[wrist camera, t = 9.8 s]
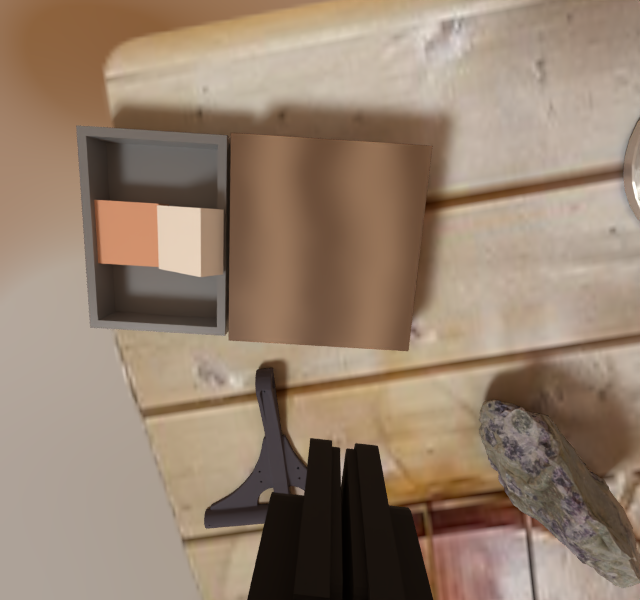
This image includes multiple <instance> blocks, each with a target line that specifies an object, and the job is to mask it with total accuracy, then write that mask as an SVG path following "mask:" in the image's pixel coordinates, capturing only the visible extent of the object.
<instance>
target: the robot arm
mask: <svg viewBox="0 0 640 600" xmlns="http://www.w3.org/2000/svg"><path fill="white" fill-rule="evenodd" d="M623 177H624V187H625V193H626V196H627V199H628V202H629V205H630V207H631V209H632V211H633V212H634V214H635V216H636V217H637V219H638V220H639V221H640V120H639V121H638V123H637V125H636V127H635V129H634V131H633V133H632V136H631V138H630V140H629V143H628V147H627V151H626V155H625V160H624V172H623ZM247 600H433V597H432V593H431V589H430V585H429V581H428V577H427V573H426V569H425V565H424V561H423V557H422V553H421V549H420V545H419V541H418V537H417V533H416V529H415V525H414V521H413V517H412V514H411V511H410V509H409V508H406V507H397V506H389V504H388V499H387V493H386V488H385V482H384V477H383V471H382V465H381V460H380V454H379V449H378V446H375V445H366V444H358V443H356V444H355V446H354V449H346V454H345V461H344V469H343V476H342V484H341V471H340V448H338V447H332V441H331V440H322V439H313V438H310V447H309V456H308V465H307V474H306V484H305V493H304V496H302V495H293V494H285V493H276V492H272V494H271V497H270V501H269V506H268V510H267V515H266V519H265V523H264V528H263V532H262V537H261V541H260V546H259V550H258V555H257V559H256V563H255V568H254V572H253V577H252V581H251V586H250V590H249V595H248V599H247Z"/></svg>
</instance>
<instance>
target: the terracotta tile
mask: <svg viewBox="0 0 640 600" xmlns="http://www.w3.org/2000/svg"><path fill="white" fill-rule="evenodd" d="M94 204H95V220H96V235H97V251H98V263H101V264H117V265H134V266H151V267H159V259H158V224H157V205H160V206H169V204H156V203H139V202H123V201H107V200H94Z"/></svg>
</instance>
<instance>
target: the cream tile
mask: <svg viewBox="0 0 640 600" xmlns="http://www.w3.org/2000/svg"><path fill="white" fill-rule="evenodd" d="M157 224H158V259H159V269H162V270H167V271H172V272H177V273H182V274H187V275H192V276H197V277H206V276H214V275H222V274H223V233H224V209H208V208H193V207H177V206H160V205H157Z"/></svg>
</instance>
